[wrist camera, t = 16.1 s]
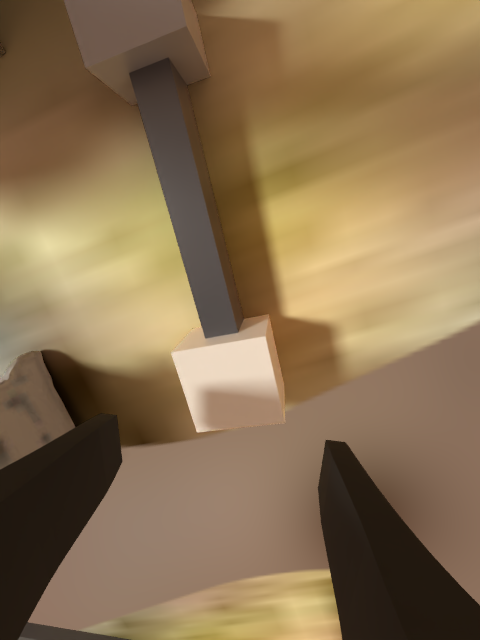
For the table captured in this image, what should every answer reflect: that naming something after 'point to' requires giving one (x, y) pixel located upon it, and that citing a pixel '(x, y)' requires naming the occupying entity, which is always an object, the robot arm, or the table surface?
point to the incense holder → (29, 409)
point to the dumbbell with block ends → (186, 203)
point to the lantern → (58, 634)
